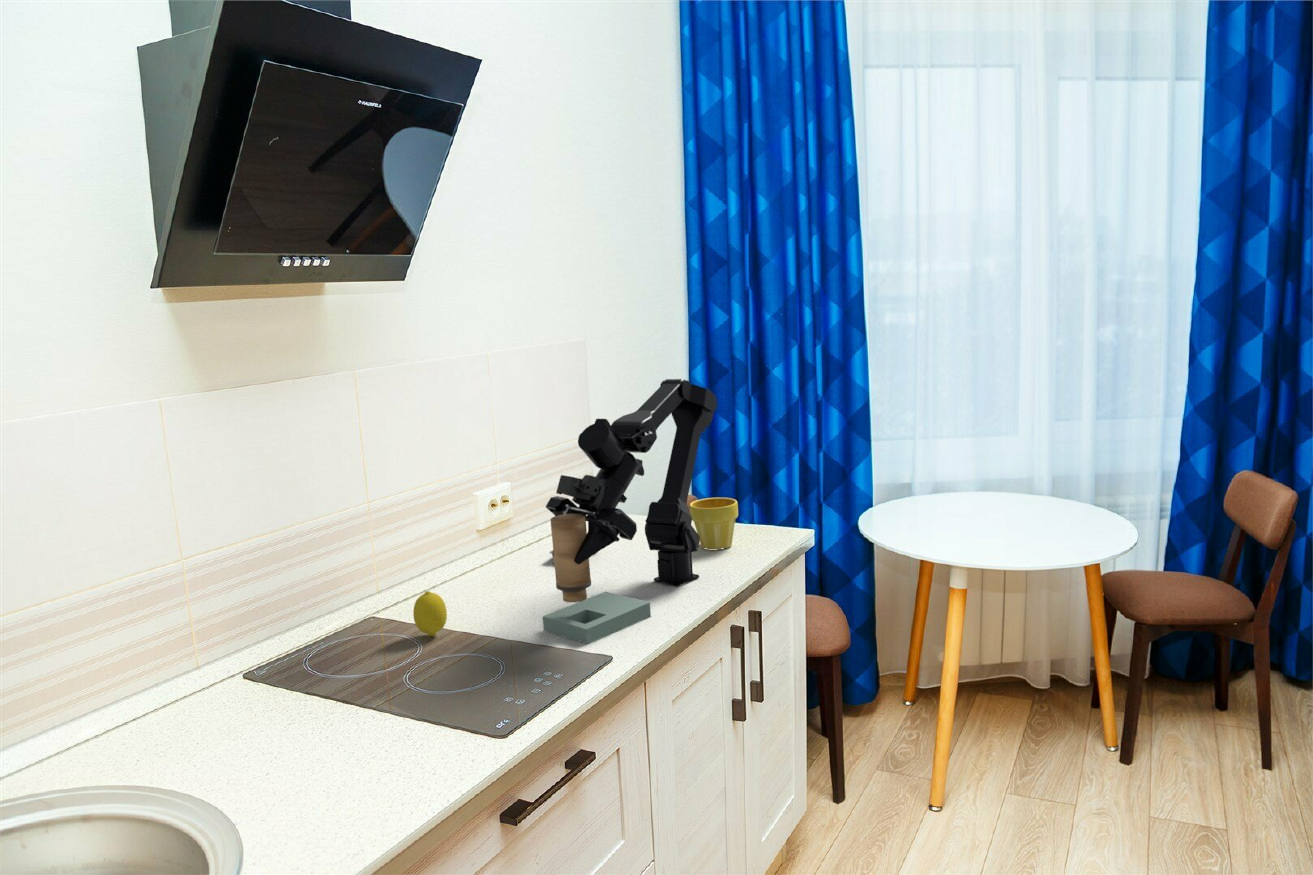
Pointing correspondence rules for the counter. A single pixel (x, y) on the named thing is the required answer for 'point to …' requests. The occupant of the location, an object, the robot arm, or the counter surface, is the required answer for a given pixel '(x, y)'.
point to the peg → (570, 556)
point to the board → (596, 617)
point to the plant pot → (714, 521)
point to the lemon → (430, 613)
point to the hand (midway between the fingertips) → (565, 559)
